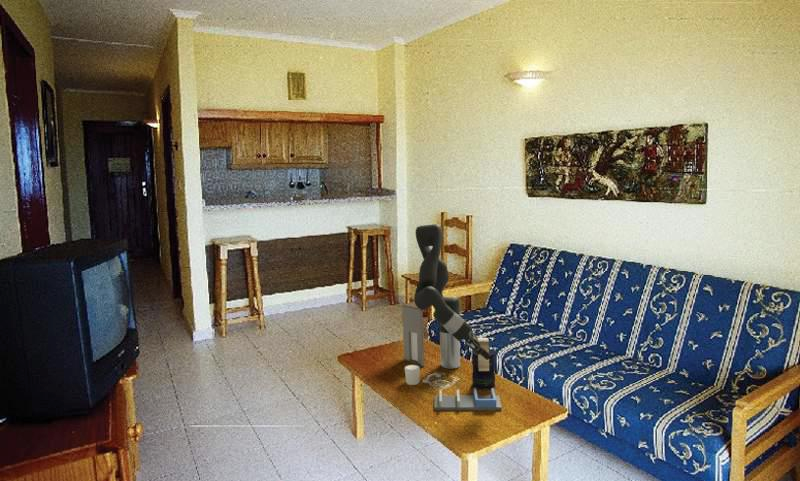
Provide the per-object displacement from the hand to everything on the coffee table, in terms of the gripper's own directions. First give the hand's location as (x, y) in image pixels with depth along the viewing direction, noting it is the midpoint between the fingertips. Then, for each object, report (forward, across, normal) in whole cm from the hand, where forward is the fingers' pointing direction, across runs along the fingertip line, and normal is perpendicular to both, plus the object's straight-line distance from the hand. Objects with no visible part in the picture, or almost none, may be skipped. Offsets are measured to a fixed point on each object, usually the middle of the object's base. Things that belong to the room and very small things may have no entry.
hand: (488, 355), depth 209 cm
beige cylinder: (-8, +22, +37) cm, 44 cm away
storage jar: (+14, +19, +15) cm, 28 cm away
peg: (+2, 0, +5) cm, 6 cm away
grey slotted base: (+8, 0, +20) cm, 22 cm away
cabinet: (-9, +51, +38) cm, 64 cm away
